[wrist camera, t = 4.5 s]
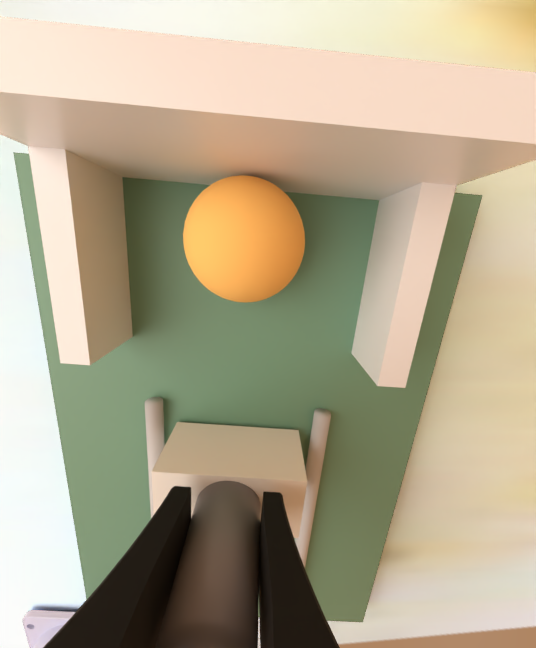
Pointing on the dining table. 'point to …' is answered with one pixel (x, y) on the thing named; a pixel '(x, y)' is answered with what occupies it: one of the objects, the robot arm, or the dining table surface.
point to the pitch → (246, 381)
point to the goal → (248, 155)
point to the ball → (244, 238)
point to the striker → (224, 526)
